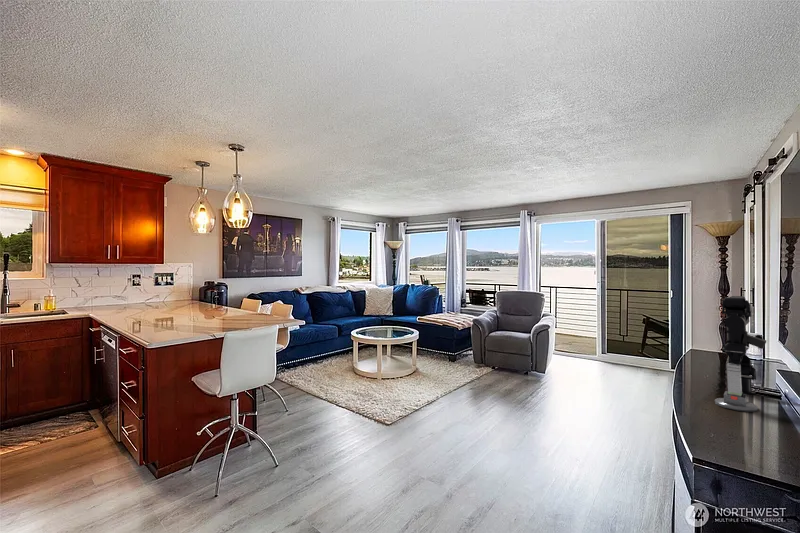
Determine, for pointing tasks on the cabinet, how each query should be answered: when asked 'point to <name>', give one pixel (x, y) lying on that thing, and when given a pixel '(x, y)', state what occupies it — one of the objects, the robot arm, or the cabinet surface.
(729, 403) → the stand base
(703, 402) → the cabinet surface
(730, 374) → the column
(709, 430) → the cabinet surface
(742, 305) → the robot arm
